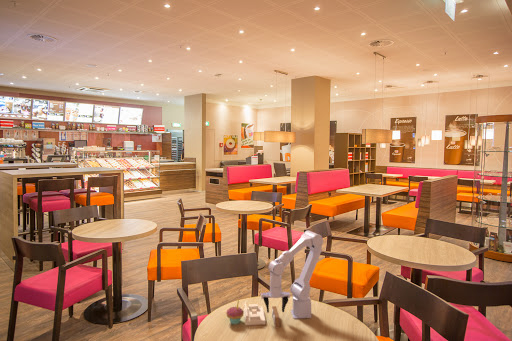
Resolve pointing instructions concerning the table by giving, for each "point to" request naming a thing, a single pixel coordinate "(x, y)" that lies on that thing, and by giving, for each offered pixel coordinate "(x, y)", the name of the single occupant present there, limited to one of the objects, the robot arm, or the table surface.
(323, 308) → the table surface
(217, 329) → the table surface
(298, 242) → the robot arm
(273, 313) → the brown wooden bar
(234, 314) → the cupcake
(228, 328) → the table surface
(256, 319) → the cream lipped block
